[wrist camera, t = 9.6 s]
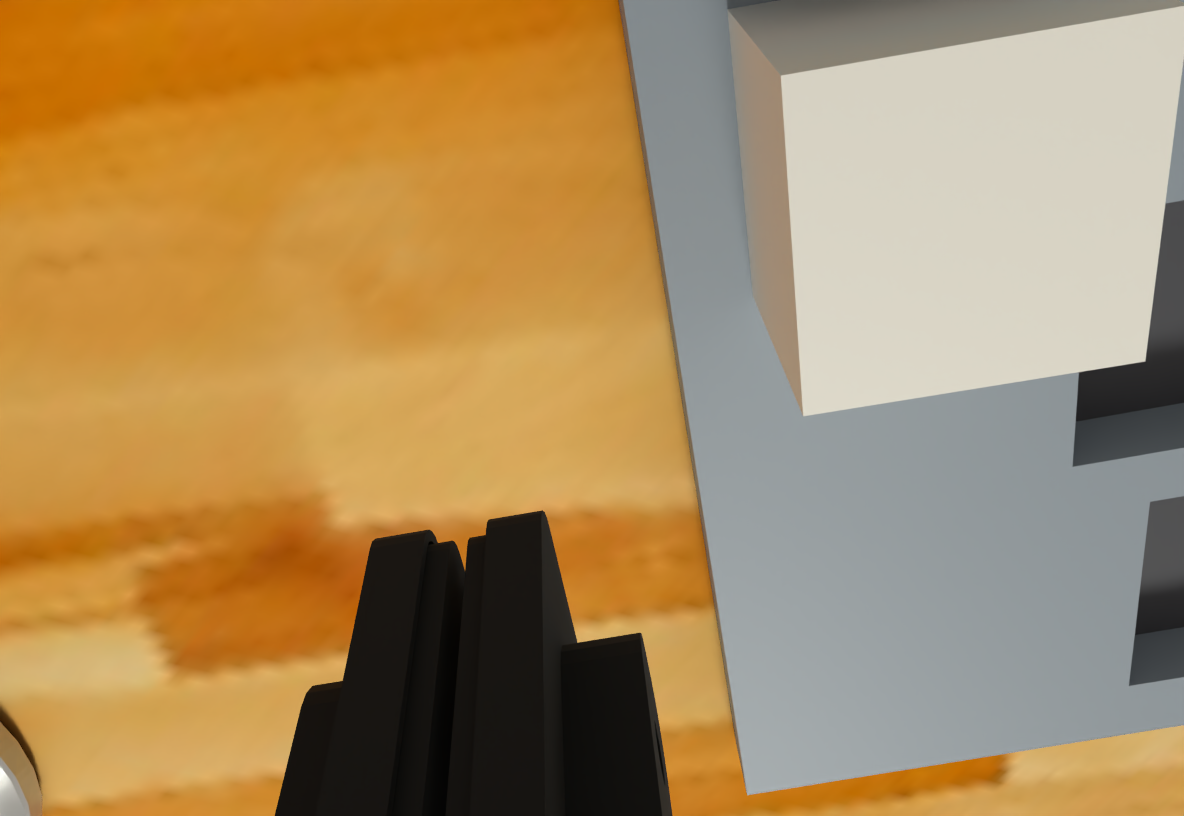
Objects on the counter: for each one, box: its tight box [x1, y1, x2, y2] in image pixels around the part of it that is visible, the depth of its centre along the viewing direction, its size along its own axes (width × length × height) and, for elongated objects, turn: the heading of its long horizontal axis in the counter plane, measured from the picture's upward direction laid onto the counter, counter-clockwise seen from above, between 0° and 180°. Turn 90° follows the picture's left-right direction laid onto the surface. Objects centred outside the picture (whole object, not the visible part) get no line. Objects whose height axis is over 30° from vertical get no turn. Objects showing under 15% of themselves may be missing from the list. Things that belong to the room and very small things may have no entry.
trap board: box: [619, 0, 1184, 795], centre depth 24 cm, size 20×25×4 cm
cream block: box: [727, 0, 1184, 416], centre depth 19 cm, size 6×6×5 cm
